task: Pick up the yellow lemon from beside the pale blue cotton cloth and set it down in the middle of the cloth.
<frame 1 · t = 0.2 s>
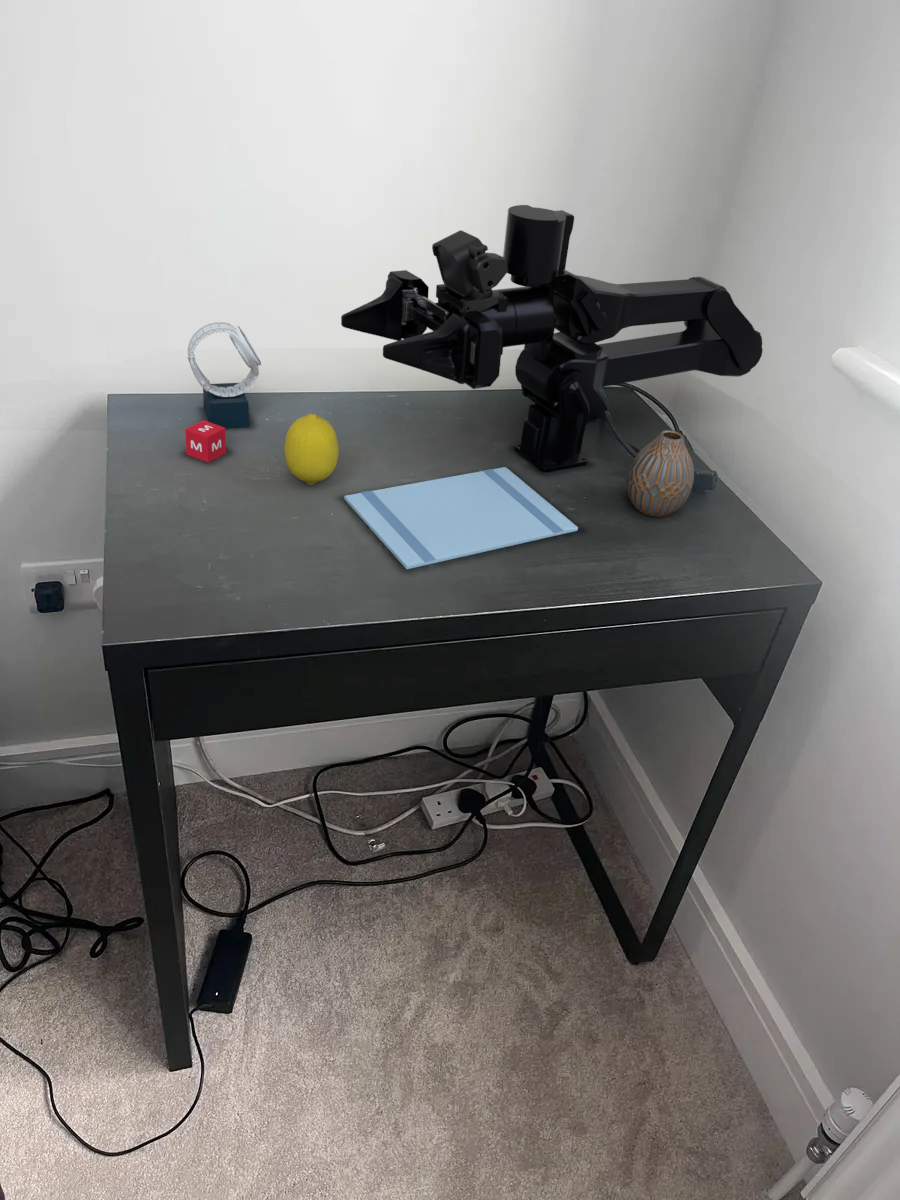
hand: (361, 335, 87), 17 cm above the table, tool horizontal, fingers open, 9 cm apart
watch: (227, 419, 108), on the table
vase: (652, 509, 100), on the table
cloth: (460, 514, 95), on the table
red letter cube: (206, 455, 100), on the table
lemon: (310, 486, 97), on the table
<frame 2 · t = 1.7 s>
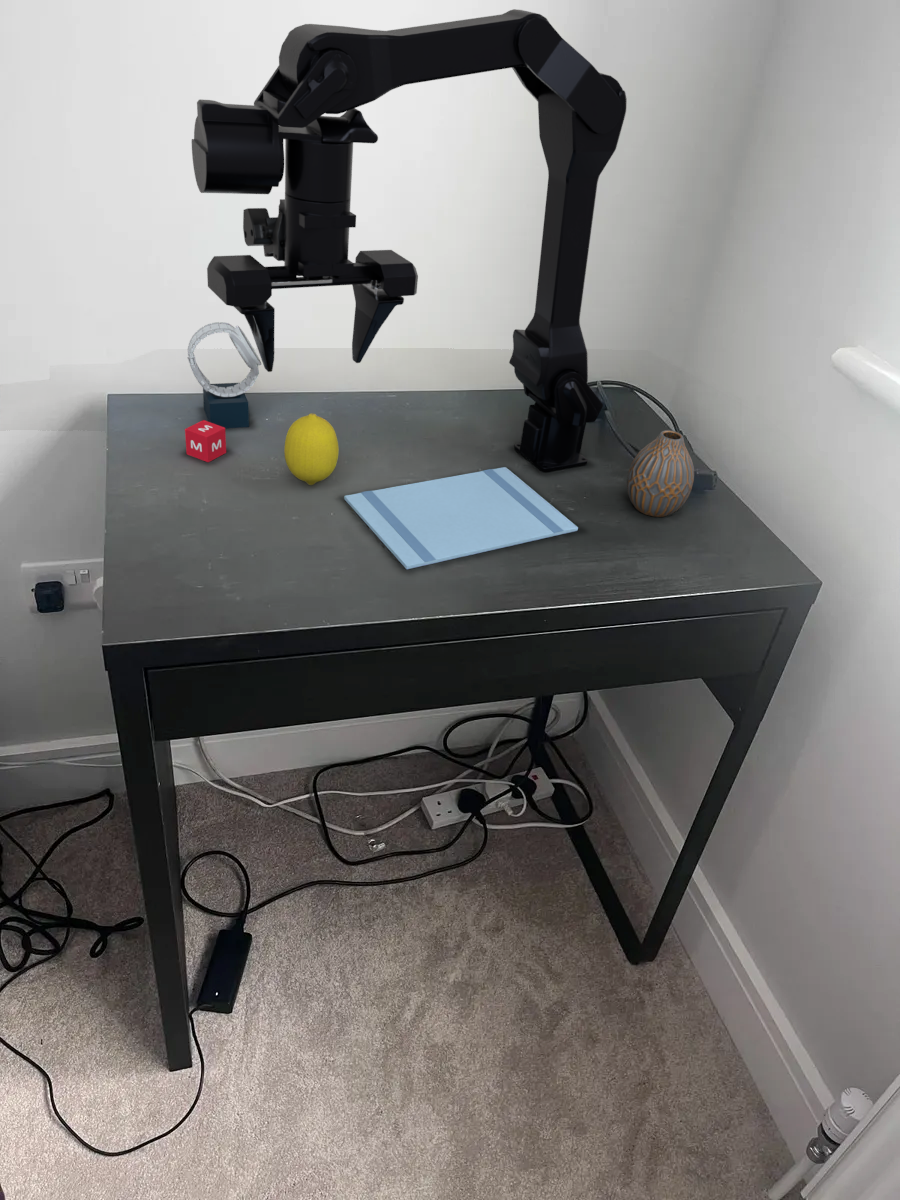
hand: (313, 365, 89), 13 cm above the table, tool pointing down, fingers open, 9 cm apart
nothing on the table moved.
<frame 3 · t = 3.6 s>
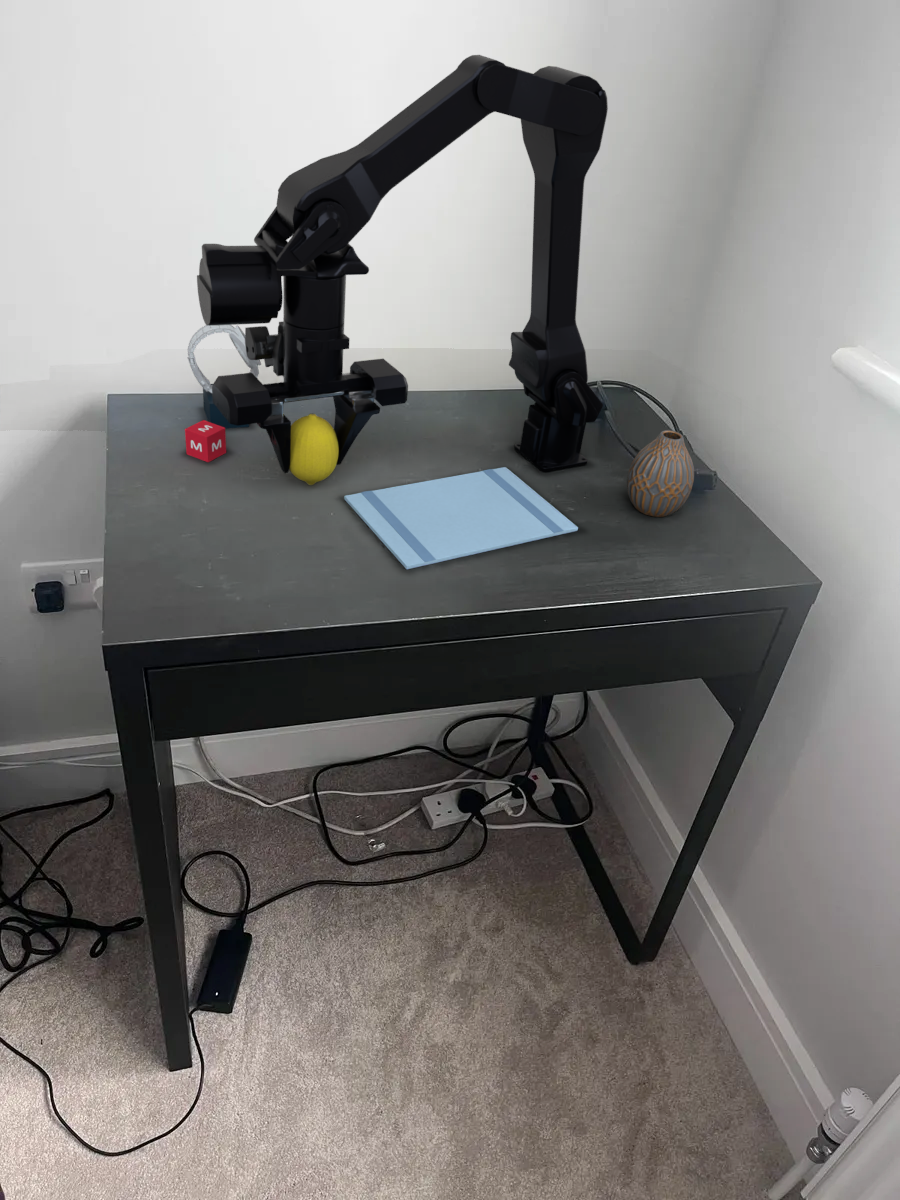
hand: (311, 467, 96), 2 cm above the table, tool pointing down, fingers closed on lemon, 5 cm apart
lemon: (310, 486, 97), on the table, touching gripper
everything else where it was.
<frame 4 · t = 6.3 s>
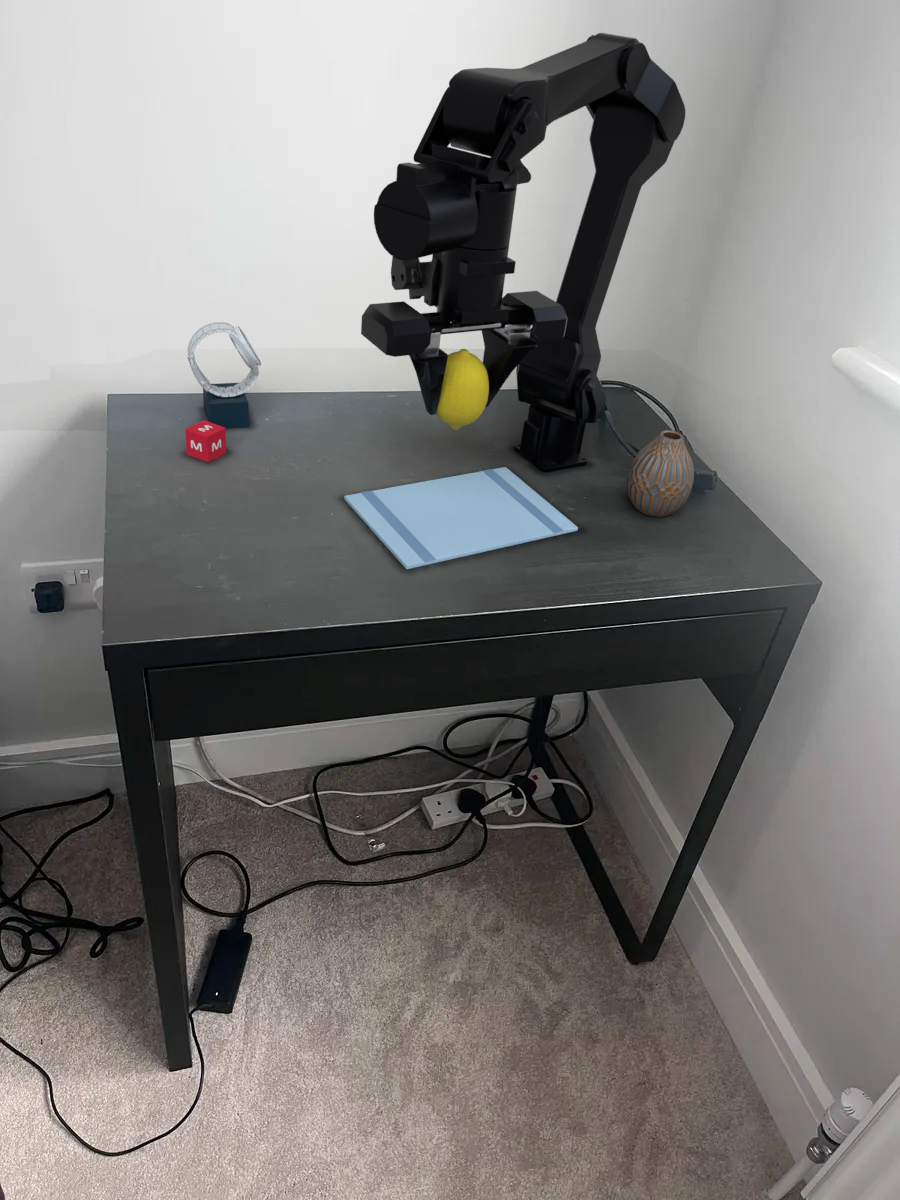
hand: (457, 409, 88), 12 cm above the table, tool pointing down, fingers closed on lemon, 5 cm apart
lemon: (454, 430, 89), point 9 cm above the table, touching gripper
everything else where it was.
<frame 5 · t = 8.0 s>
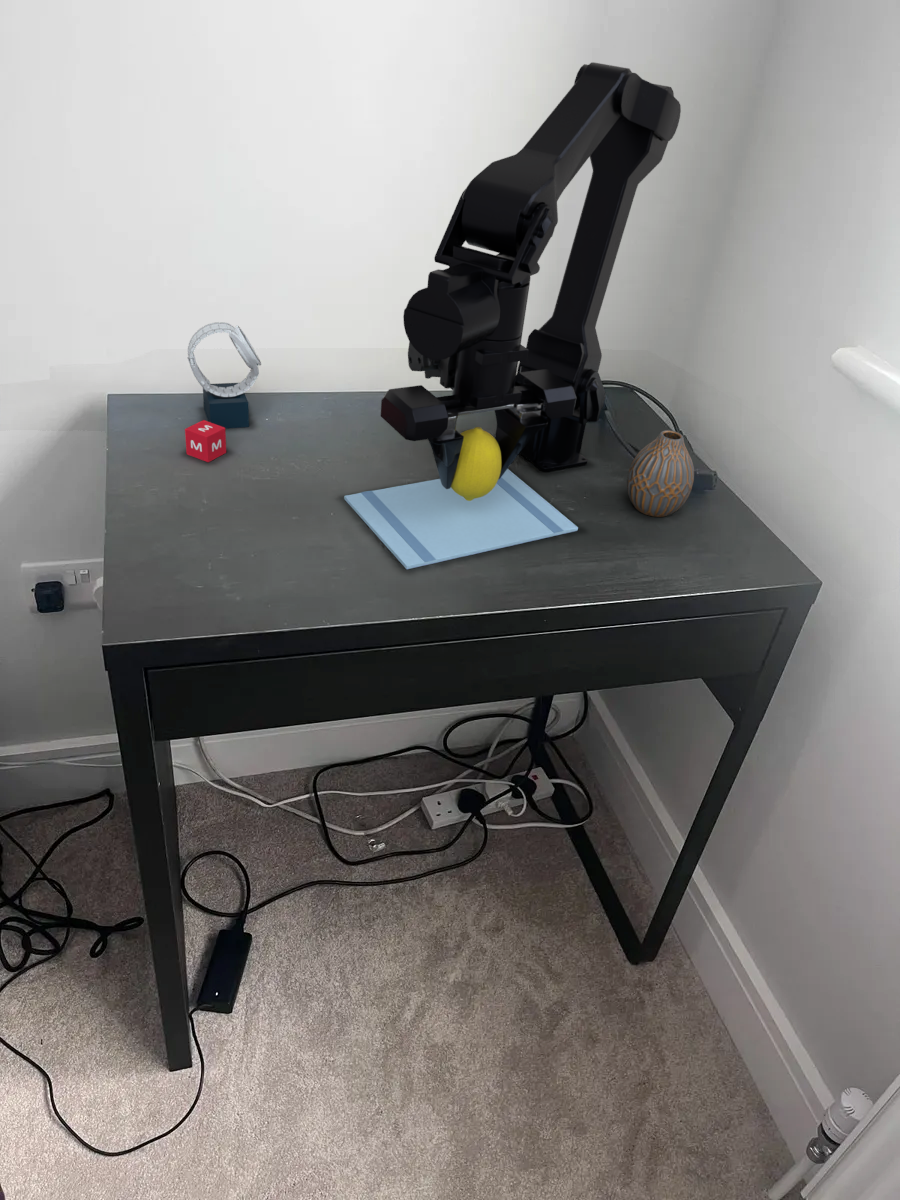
hand: (471, 482, 92), 4 cm above the table, tool pointing down, fingers closed on lemon, 5 cm apart
lemon: (468, 501, 93), point 2 cm above the table, touching gripper
everything else where it was.
when the fingers open (2 cm above the table, at t = 9.1 s): lemon stays where it is, resting on cloth.
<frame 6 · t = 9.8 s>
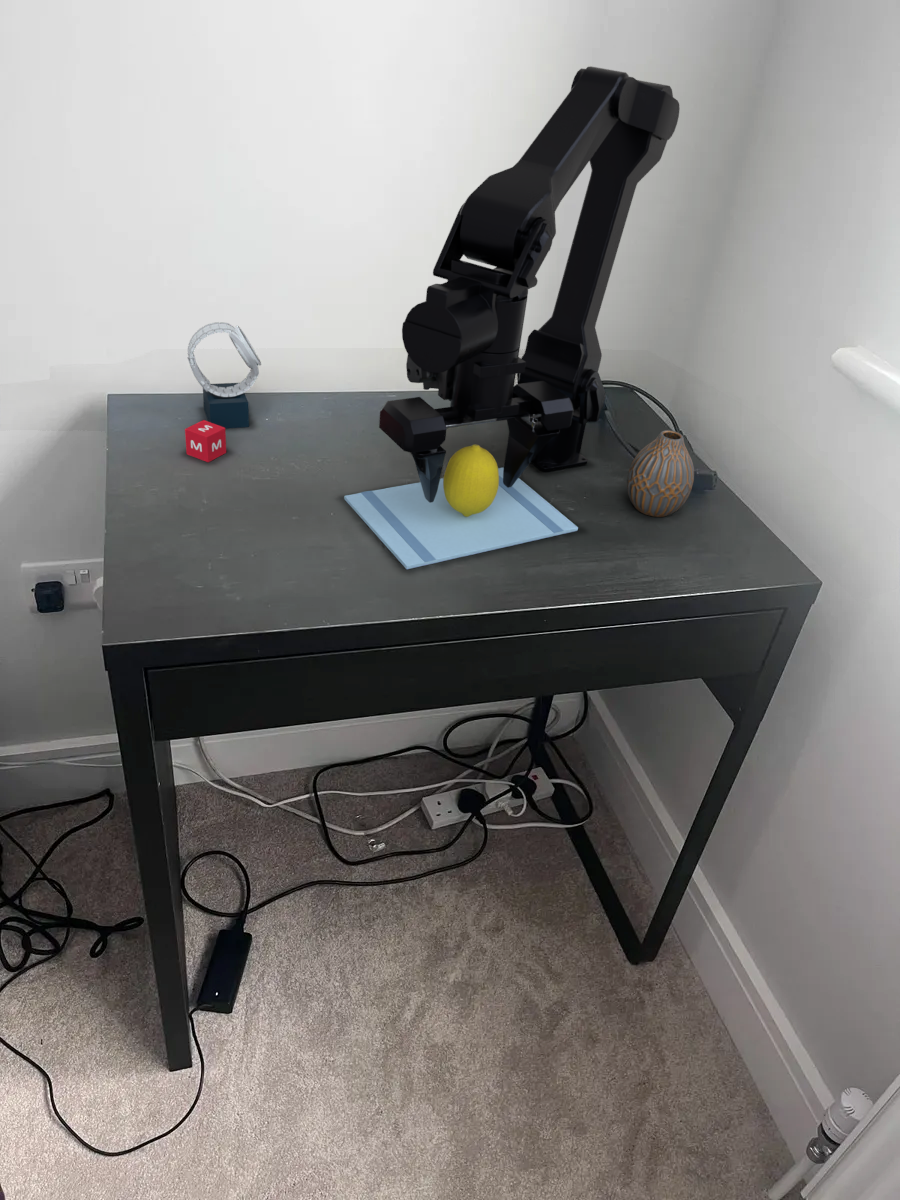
hand: (468, 492, 92), 3 cm above the table, tool pointing down, fingers open, 9 cm apart
lemon: (466, 517, 94), resting on cloth
everything else where it was.
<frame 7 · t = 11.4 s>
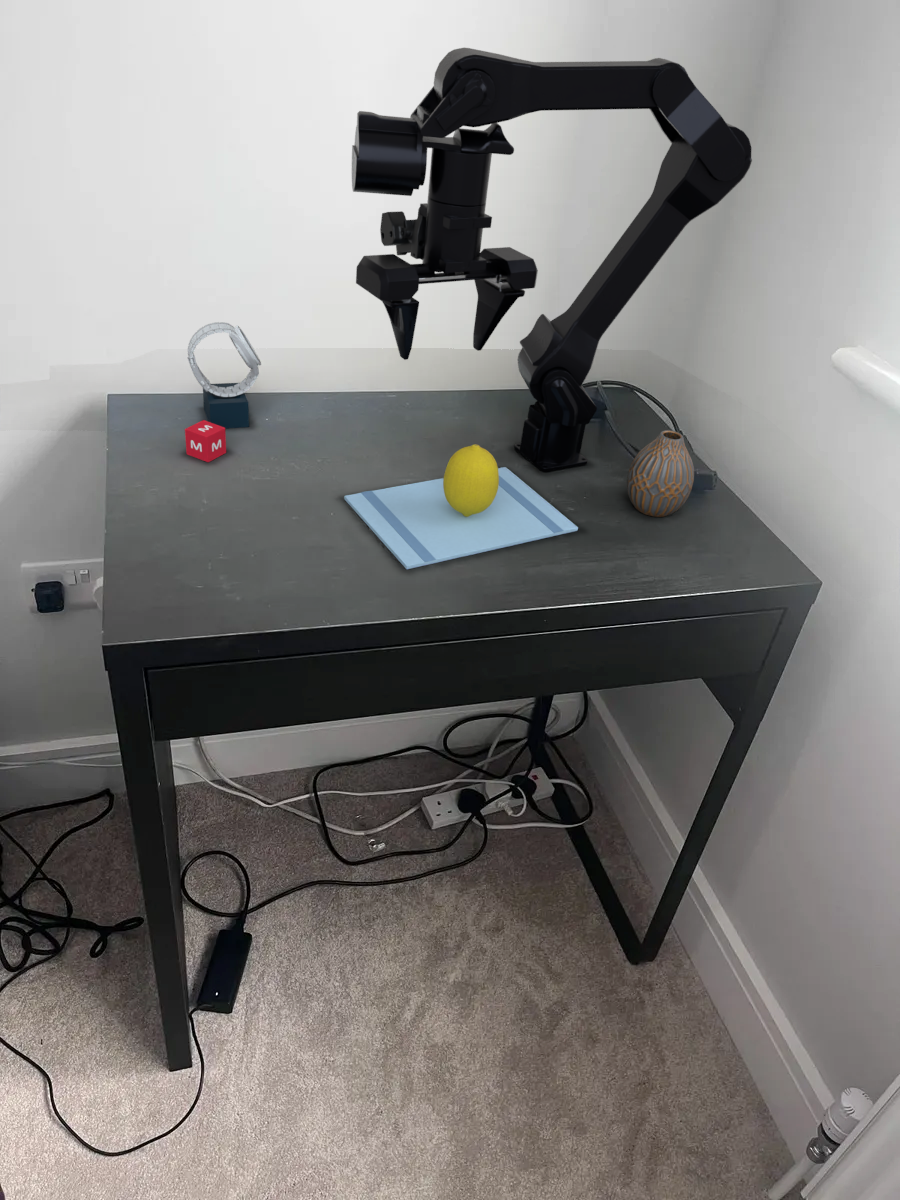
hand: (441, 353, 98), 12 cm above the table, tool pointing down, fingers open, 9 cm apart
nothing on the table moved.
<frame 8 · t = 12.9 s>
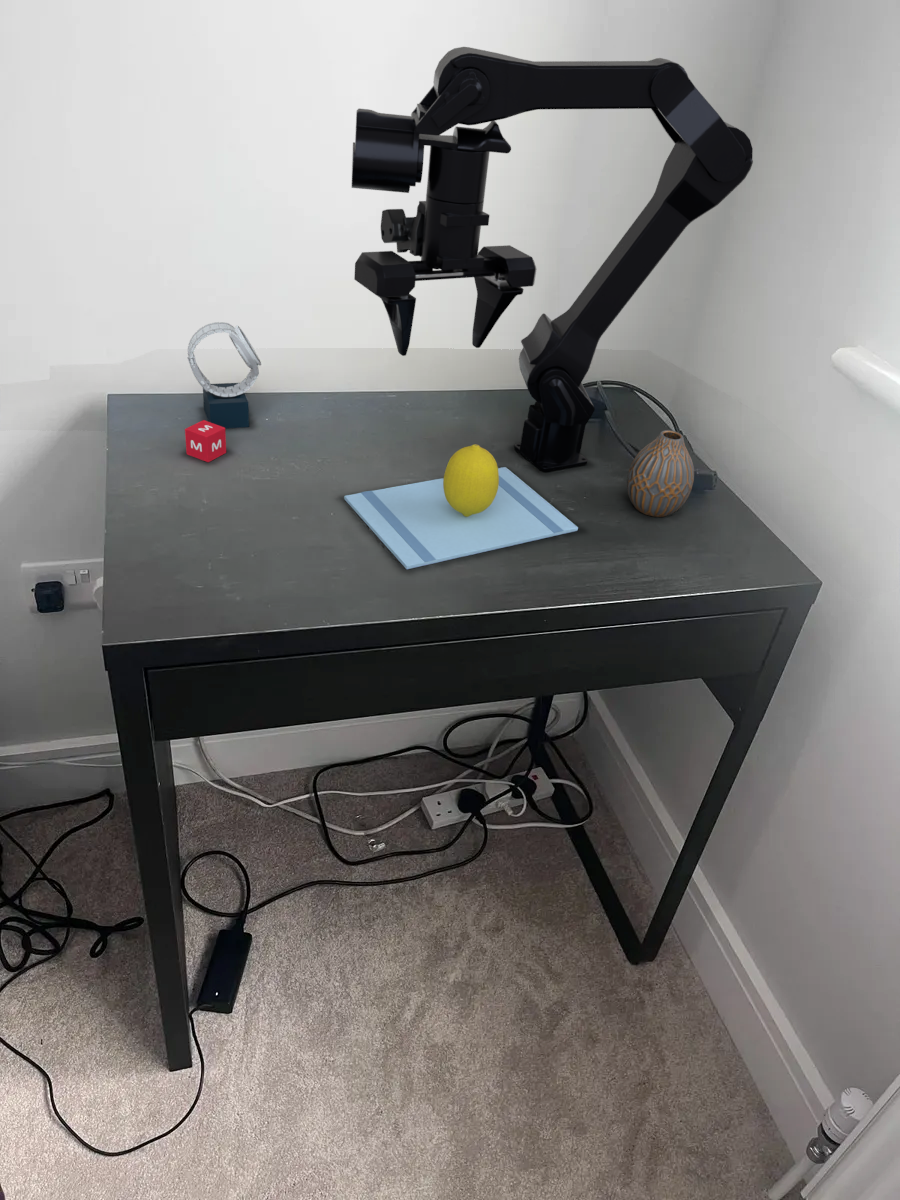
hand: (439, 350, 99), 12 cm above the table, tool pointing down, fingers open, 9 cm apart
nothing on the table moved.
at the end: lemon inside the target area on the cloth (1.0 cm from its centre), point 0.2 cm above the cloth's base; lemon touching cloth; the gripper is holding nothing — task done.
